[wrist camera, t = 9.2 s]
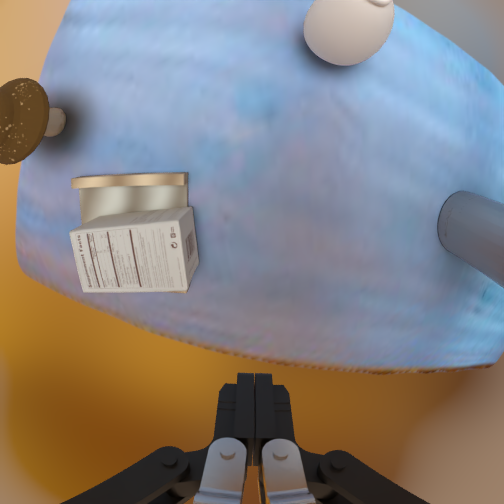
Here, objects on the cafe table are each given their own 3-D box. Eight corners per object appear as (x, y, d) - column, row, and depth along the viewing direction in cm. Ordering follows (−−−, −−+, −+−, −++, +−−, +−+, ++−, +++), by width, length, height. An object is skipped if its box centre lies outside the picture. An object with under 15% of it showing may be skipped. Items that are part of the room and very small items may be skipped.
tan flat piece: (188, 172, 32) (183, 174, 30) (190, 284, 37) (186, 293, 35) (80, 176, 32) (71, 178, 29) (91, 277, 36) (83, 285, 34)
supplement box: (200, 265, 35) (108, 268, 35) (193, 204, 33) (98, 214, 33) (188, 293, 28) (82, 294, 29) (178, 220, 26) (66, 230, 26)
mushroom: (92, 159, 31) (12, 173, 17) (30, 154, 30) (-48, 169, 16) (105, 88, 28) (29, 64, 14) (40, 91, 27) (-36, 82, 13)
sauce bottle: (341, 87, 29) (424, 41, 12) (283, 52, 27) (316, -31, 10) (369, 43, 27) (452, -14, 10) (315, 9, 25) (362, -76, 8)
